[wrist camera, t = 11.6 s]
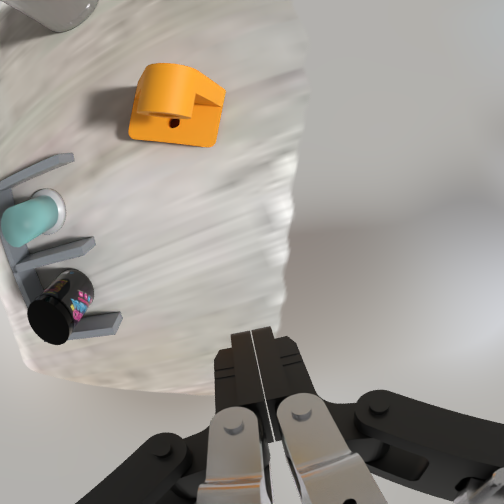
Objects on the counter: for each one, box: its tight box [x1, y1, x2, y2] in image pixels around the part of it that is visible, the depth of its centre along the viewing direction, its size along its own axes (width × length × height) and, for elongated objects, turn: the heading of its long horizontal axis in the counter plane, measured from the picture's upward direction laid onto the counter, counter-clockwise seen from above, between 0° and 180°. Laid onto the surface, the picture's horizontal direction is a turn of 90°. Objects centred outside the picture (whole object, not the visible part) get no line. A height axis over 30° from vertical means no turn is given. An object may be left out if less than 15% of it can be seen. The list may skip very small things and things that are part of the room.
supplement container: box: [27, 269, 94, 345], centre depth 34 cm, size 7×7×10 cm
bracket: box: [128, 63, 226, 147], centre depth 28 cm, size 11×7×12 cm, turn 80°
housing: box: [0, 153, 123, 342], centre depth 33 cm, size 14×26×9 cm, turn 10°
